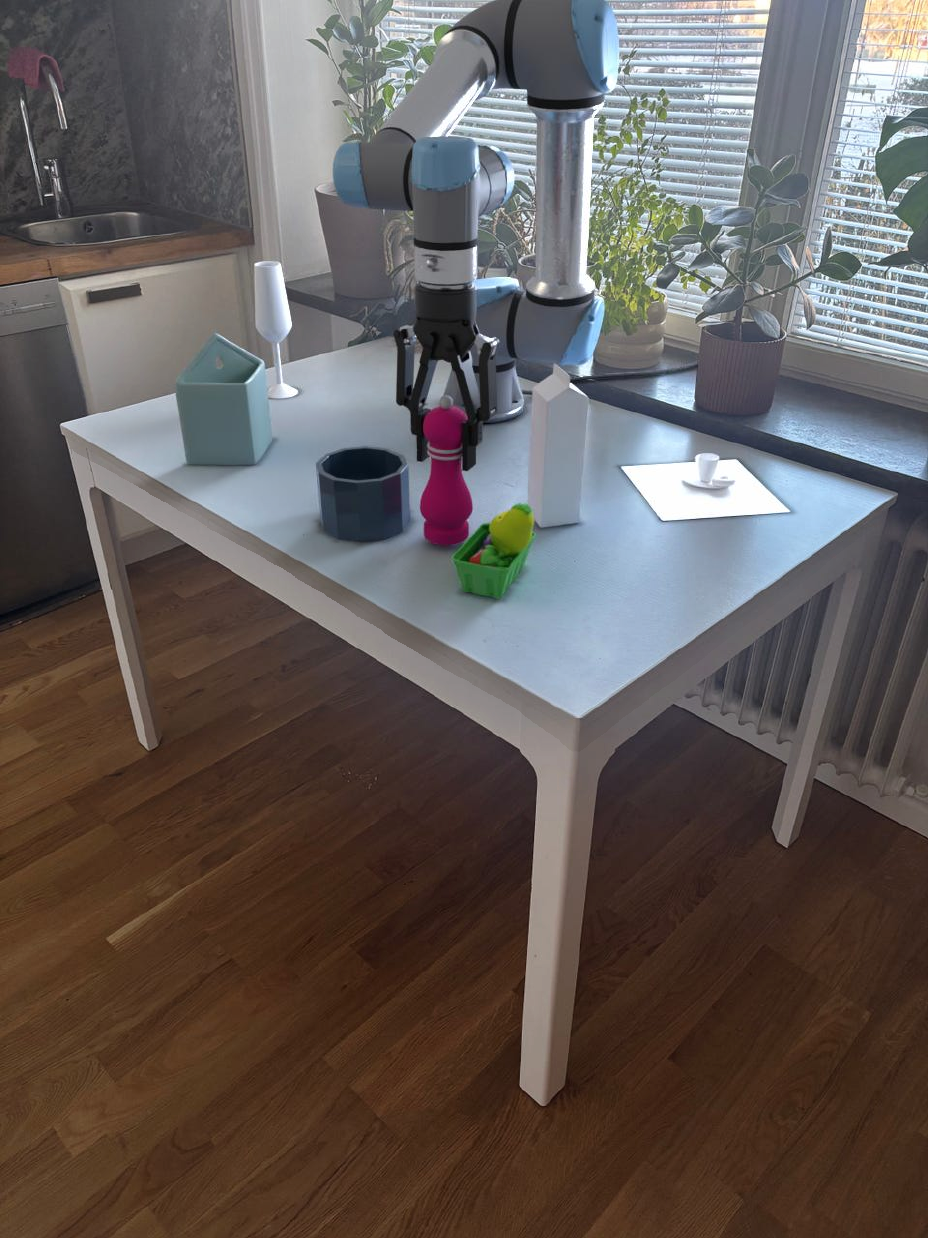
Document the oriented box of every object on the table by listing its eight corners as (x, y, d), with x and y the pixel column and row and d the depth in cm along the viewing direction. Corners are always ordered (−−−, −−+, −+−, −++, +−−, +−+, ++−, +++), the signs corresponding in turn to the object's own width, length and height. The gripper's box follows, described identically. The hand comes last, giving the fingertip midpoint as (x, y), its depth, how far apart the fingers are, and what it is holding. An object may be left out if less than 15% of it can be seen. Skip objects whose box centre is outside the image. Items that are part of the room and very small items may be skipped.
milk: (540, 528, 135) (548, 378, 123) (526, 510, 139) (532, 364, 127) (579, 523, 136) (591, 374, 124) (564, 505, 141) (573, 360, 129)
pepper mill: (479, 528, 132) (481, 390, 121) (462, 551, 126) (463, 408, 115) (431, 520, 134) (429, 383, 123) (412, 542, 128) (409, 401, 117)
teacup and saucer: (741, 491, 145) (746, 467, 143) (693, 494, 144) (696, 470, 142) (719, 469, 153) (723, 445, 150) (673, 471, 151) (676, 448, 149)
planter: (210, 478, 148) (192, 354, 138) (186, 463, 153) (166, 342, 142) (297, 451, 158) (286, 333, 147) (271, 438, 162) (258, 323, 152)
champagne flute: (303, 388, 185) (291, 260, 172) (290, 399, 179) (277, 268, 166) (271, 385, 186) (257, 258, 173) (257, 396, 180) (242, 266, 167)
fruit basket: (482, 554, 128) (484, 478, 122) (544, 567, 125) (548, 489, 119) (449, 594, 119) (449, 513, 113) (514, 608, 116) (518, 527, 110)
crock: (399, 498, 142) (397, 442, 138) (416, 536, 132) (415, 477, 127) (316, 507, 140) (311, 450, 135) (327, 546, 129) (322, 486, 125)
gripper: (361, 280, 112) (370, 459, 125) (506, 298, 106) (500, 486, 118) (391, 267, 118) (397, 440, 131) (531, 284, 111) (523, 465, 124)
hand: (446, 462), depth 124 cm, fingers closed on pepper mill, 6 cm apart
